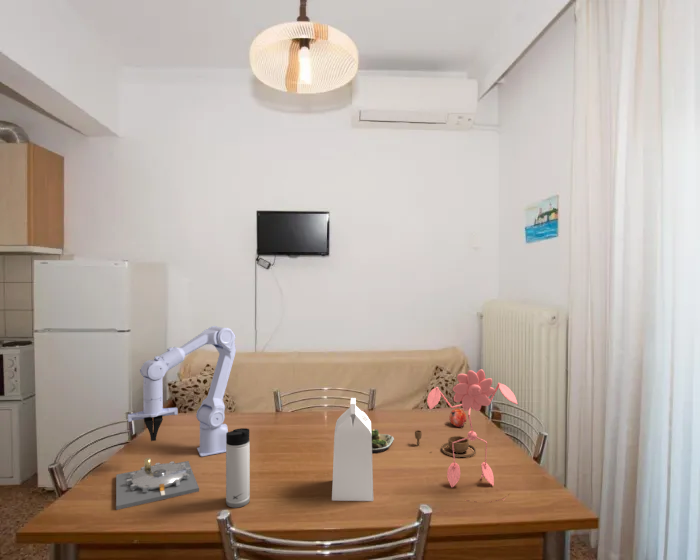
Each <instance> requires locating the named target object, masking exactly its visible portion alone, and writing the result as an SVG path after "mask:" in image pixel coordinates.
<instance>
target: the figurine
mask: <svg viewBox="0 0 700 560" xmlns="http://www.w3.org/2000/svg"><path fill="white" fill-rule="evenodd" d="M466 373H467V374H466ZM466 373H459V374H457V376H456V379H457V381H458V382H459V383H457V384H456V385H454V386H453V388H452V391H453V392H454V396H453V402H455V403H460V402H461V404H456V405H453V406H452V404H451V403H450V402H449V401H448V399H447V398H446V397H445V396H444V394H443V392H441V390H440V389H439V387H438V386H436V387H435V388H432V389H431V391H429V393H428V395H427V399H426V401H427V402H426V403H427V405H428V408H429V410H433V408H435V407H436V406H437V405H438V404H439V403H440V400H441V398H443V399H444V401H445V402H446V404H448V405H447V406H449V407H450V408H451V409H452V410H453V409H457V408H460V407H462V410H463V411H464V412H468V413H467V417H468V418H467V419H468V422H469V426H470V431H468V432H467V437H465V438H464V439H461V440H458V441H455V442H453V443H456V442H459V441H462V440H465V439H468V440H469V441H475V440H479V441H482V442H484V443H485V455H484V456H485V457H484V461H483V462H481V464H480V465H481V466H480V467H481V475H480V479H481V478H485V481H487V482H488V484H490V485H491V486H493V487H494V485H495V484H494V483H495V477H494V471H493V470H492V468H491V466H490V465H489V464H488V463H487V453H488V441H487V440H485V439H482V438H480V437H478V434H477V432H476V431H474V429H473V424H472V418H471V410H474V411H475V412H479V411H481V409H482V406H484V407H486V406H487V407H490V405H491V403H492V401H493V398H494V396H495V394H496V393H497V391H498V390H499V391H500V393H501V395H502V396H503V397H504V398H505V399H506V400H508V401H509V402H510V403H513V404H515V405H518V400H517V398H516V395H515V393H514V392H513V391H512V390H511V389H510V387H508V386H507V385H505V384H504V383H501V382H498V383H497V385H496V387H495V388H494V387H491V386H492V384H493V378H491V377H489V378H486V374H485V371H484V370H483V369H478V371H477V372H475V371H474V370H468V371H467V372H466ZM489 397H490V398H489ZM471 408H472V409H471ZM453 443H452V447H453V451H452V454H453V457H452V458H453V462H451V463H450V465H449V466H448V469H447V472H446V476H447V477H446V478H447V480H448V483H449V486H450V487H451V488H454V487H455V486H456V484H458V482H459V481H460V479H461V468H460V465H459V464H458V463H457V462H456V457H455V456H454V454H455V453H454V444H453ZM507 497H508V495H506V496H505V497H503V498H500V499H497V500H496V502H497V501H501V500H505V499H506V498H507ZM465 500H466V499H465ZM466 501H467V502H469V500H466ZM473 501H474V500H473ZM492 501H493V500H492ZM492 501H490V503H493V502H492ZM473 503H476V501H474V502H473Z"/></svg>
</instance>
